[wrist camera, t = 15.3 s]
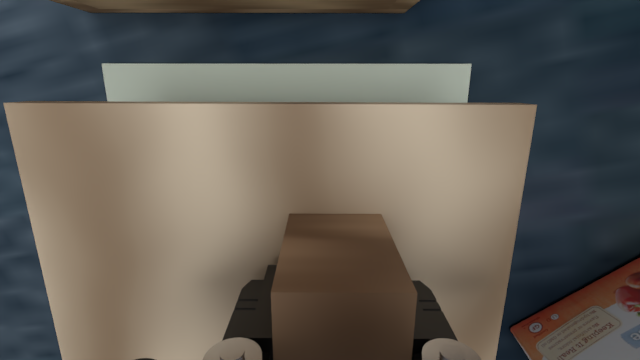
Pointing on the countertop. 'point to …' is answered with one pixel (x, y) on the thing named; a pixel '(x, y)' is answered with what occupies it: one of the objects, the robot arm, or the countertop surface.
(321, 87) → the mat
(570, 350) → the cracker box
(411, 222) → the lid
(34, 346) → the countertop surface
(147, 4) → the wooden box
